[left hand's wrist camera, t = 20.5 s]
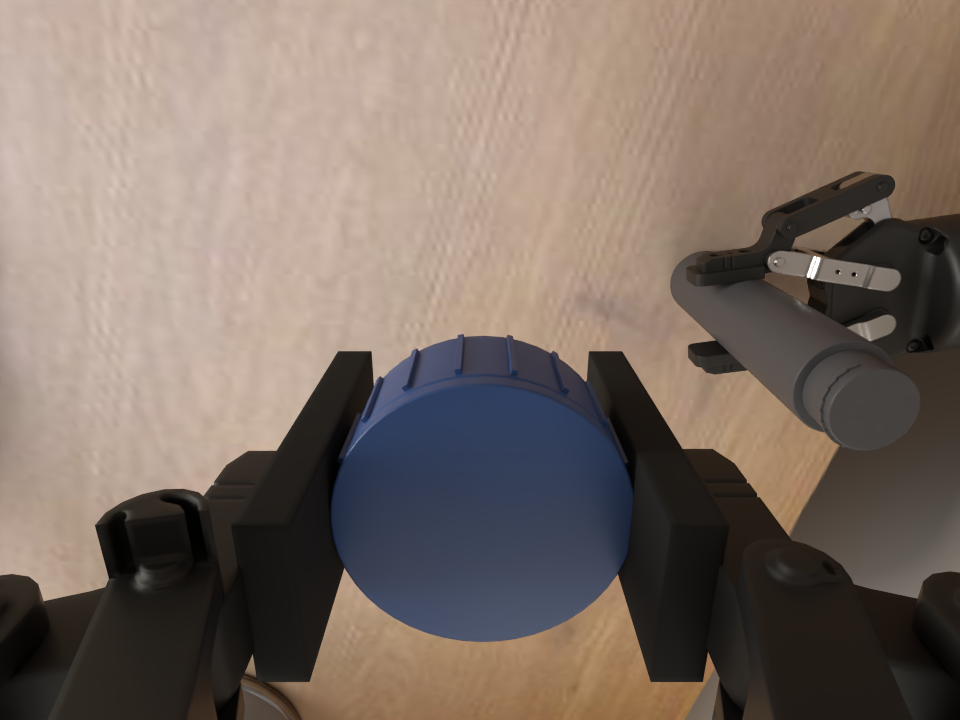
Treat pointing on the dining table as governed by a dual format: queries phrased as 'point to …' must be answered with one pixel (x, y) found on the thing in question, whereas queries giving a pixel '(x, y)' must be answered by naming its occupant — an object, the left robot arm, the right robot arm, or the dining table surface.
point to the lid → (482, 492)
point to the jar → (805, 359)
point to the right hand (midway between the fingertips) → (692, 316)
